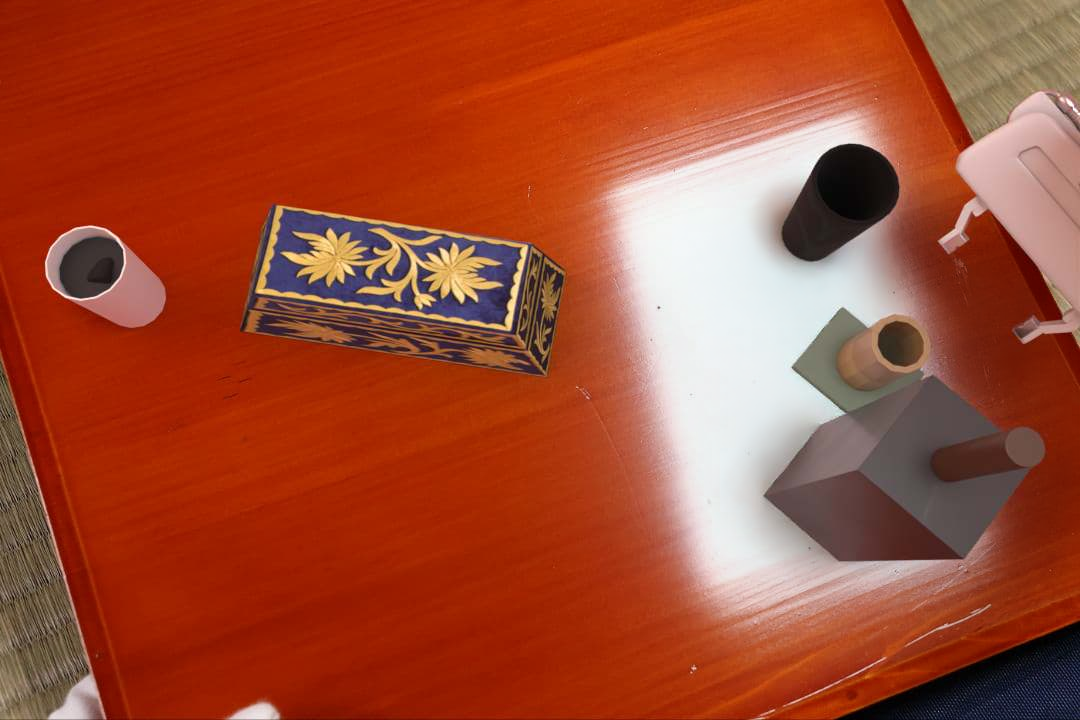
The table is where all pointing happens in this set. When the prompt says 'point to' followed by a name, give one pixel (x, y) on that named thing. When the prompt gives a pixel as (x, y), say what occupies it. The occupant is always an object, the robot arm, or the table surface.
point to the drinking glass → (104, 277)
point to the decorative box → (404, 290)
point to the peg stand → (905, 477)
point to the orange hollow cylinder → (883, 353)
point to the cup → (840, 201)
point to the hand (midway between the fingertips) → (980, 291)
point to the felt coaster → (822, 365)
